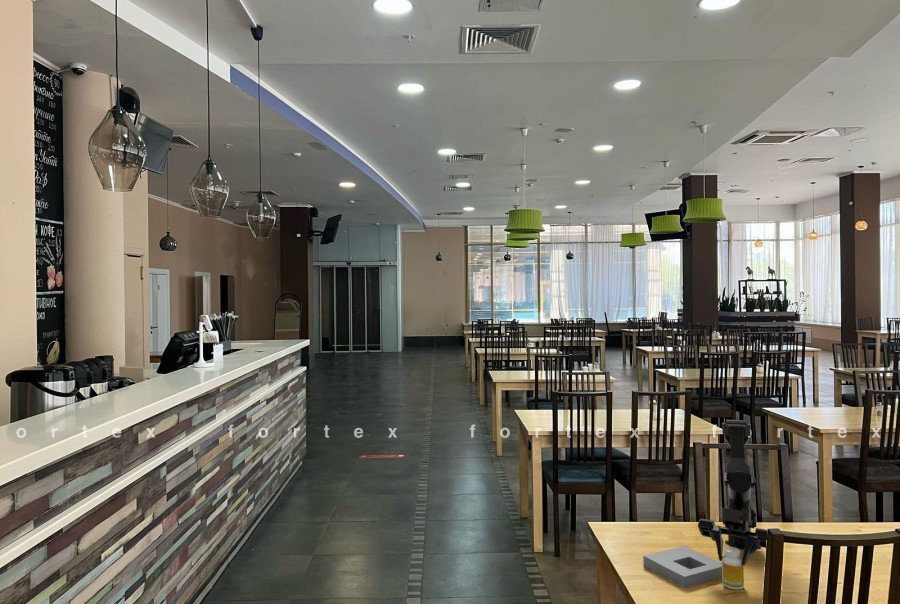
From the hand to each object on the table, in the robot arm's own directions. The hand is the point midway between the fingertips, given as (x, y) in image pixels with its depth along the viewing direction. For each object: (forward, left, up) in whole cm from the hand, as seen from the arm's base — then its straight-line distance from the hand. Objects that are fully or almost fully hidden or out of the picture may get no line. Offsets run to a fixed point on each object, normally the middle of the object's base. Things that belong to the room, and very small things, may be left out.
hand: (731, 562), depth 165 cm
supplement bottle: (-1, -1, -7) cm, 7 cm away
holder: (+3, -14, -7) cm, 16 cm away
